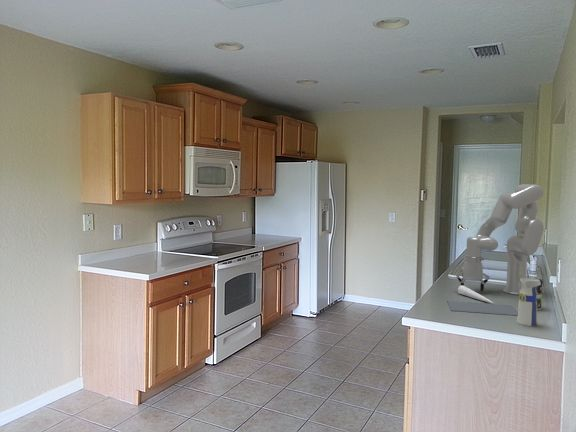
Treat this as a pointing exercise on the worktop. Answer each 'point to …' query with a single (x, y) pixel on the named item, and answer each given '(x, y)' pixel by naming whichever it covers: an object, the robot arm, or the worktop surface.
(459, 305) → the mat
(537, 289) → the coffee can
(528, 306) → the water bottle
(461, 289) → the unicorn horn
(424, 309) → the worktop surface
